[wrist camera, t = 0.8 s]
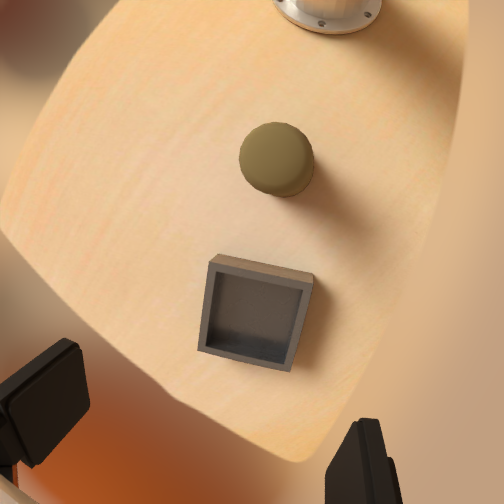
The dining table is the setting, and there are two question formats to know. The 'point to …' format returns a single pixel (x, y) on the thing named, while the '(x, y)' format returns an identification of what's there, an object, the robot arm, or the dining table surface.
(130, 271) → the dining table surface
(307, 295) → the socket
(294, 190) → the cork
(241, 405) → the dining table surface
